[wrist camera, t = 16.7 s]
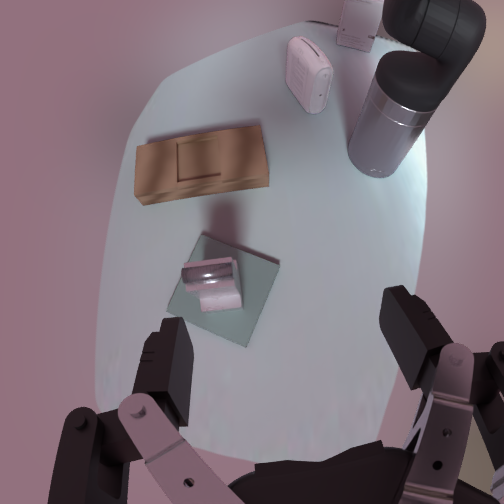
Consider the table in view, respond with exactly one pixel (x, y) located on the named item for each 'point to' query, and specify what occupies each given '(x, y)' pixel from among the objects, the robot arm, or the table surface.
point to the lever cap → (214, 284)
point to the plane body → (201, 165)
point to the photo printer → (308, 74)
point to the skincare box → (359, 23)
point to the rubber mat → (252, 286)
